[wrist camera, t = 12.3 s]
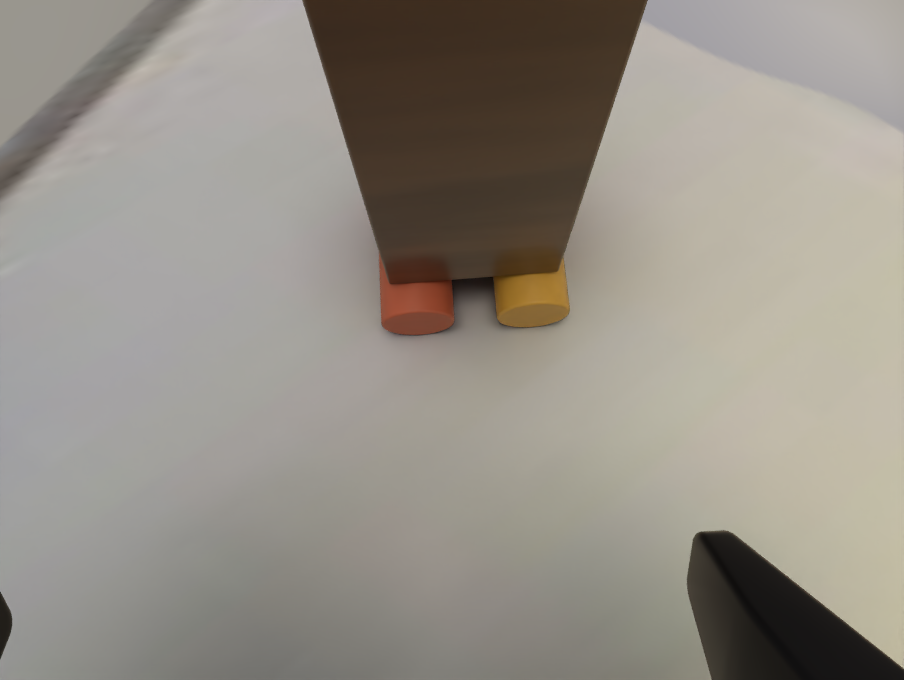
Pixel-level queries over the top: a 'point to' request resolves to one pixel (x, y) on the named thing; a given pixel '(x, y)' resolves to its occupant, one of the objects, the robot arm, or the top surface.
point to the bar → (473, 123)
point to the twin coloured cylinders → (433, 309)
